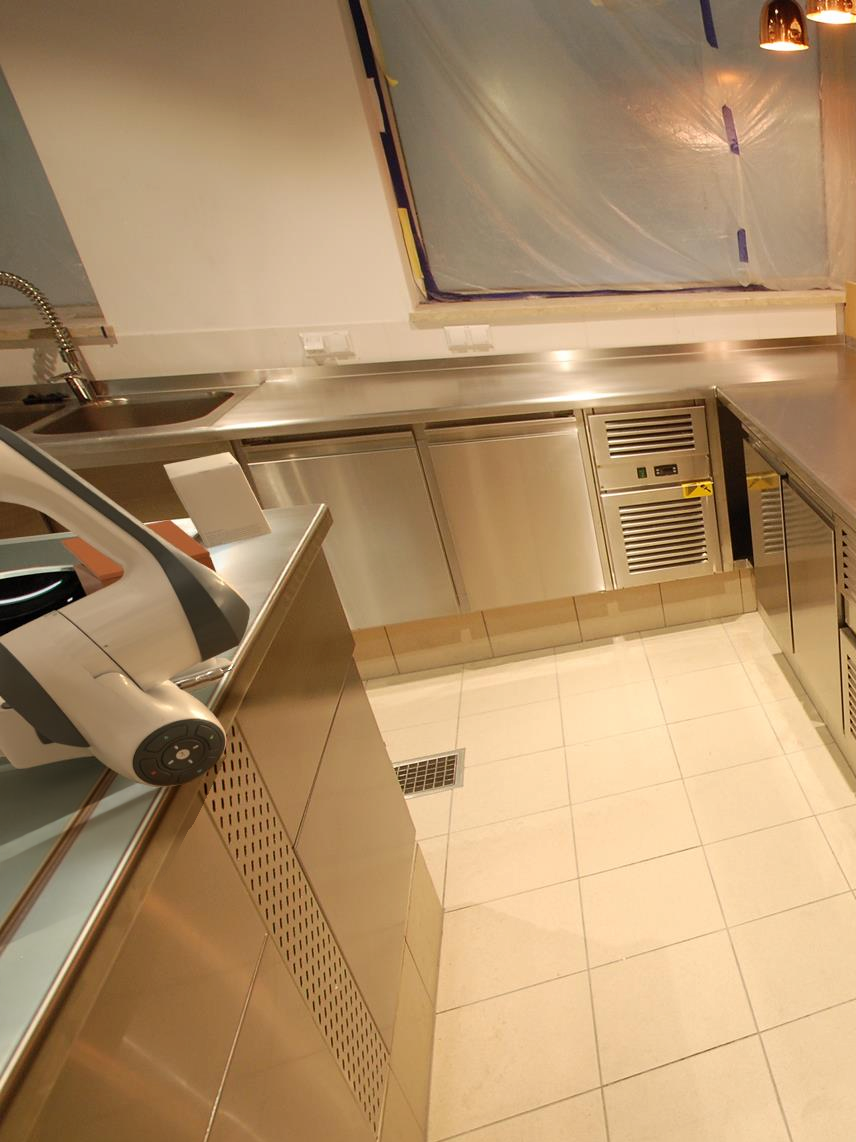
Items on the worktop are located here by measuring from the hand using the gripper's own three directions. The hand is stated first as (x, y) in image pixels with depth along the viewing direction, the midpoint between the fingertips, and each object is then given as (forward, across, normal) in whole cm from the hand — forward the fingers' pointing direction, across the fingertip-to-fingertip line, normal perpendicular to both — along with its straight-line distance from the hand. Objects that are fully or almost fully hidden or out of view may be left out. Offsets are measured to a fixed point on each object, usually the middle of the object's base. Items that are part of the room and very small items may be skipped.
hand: (73, 670), depth 92 cm
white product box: (+47, -32, +4) cm, 57 cm away
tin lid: (+23, -14, -5) cm, 28 cm away
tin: (+23, -14, +5) cm, 28 cm away
